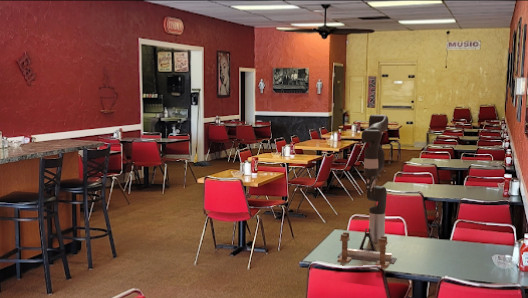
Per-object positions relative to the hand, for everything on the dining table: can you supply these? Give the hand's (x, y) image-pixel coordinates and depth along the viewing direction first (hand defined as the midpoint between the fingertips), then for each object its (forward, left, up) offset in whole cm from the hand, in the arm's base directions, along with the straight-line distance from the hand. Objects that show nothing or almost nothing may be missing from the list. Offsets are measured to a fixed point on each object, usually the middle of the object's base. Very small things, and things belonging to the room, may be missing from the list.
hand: (370, 196), depth 308 cm
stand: (+15, 0, -33) cm, 36 cm away
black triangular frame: (-9, -3, -33) cm, 34 cm away
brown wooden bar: (+6, 0, -32) cm, 33 cm away
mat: (+6, 0, -33) cm, 33 cm away
